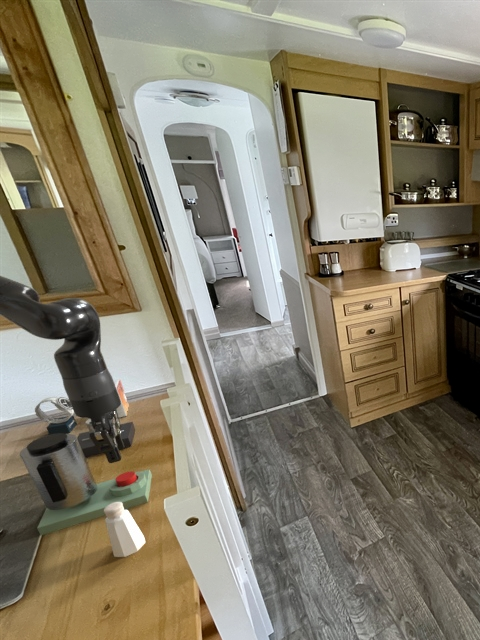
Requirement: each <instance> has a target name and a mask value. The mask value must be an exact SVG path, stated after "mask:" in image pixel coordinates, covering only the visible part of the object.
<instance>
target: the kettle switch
mask: <svg viewBox="0 0 480 640" xmlns="http://www.w3.org/2000/svg"><path fill="white" fill-rule="evenodd" d="M135 472H136V471H131V470H130V471H125V472H123V473H121V474H119V475H117V476H116V477H115V478H114V479H115V480H116V483H117V485H118V487H124V486H128V485H130V484H132V483H134V482H135V481H136V480H137V477H136V474H135Z"/></svg>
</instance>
